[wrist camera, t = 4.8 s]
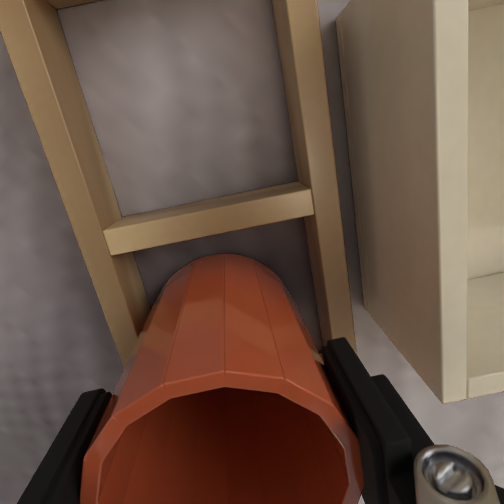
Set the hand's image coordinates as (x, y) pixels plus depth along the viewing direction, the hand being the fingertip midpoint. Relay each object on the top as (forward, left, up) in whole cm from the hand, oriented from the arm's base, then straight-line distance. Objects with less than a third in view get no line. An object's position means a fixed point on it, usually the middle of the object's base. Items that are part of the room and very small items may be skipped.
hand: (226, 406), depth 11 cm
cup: (0, 0, -6) cm, 6 cm away
